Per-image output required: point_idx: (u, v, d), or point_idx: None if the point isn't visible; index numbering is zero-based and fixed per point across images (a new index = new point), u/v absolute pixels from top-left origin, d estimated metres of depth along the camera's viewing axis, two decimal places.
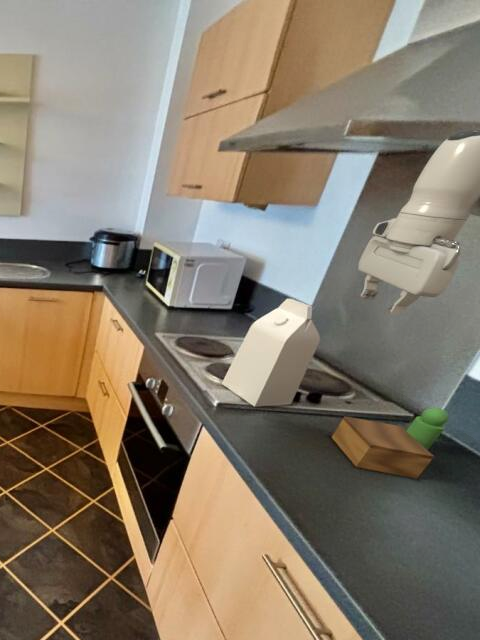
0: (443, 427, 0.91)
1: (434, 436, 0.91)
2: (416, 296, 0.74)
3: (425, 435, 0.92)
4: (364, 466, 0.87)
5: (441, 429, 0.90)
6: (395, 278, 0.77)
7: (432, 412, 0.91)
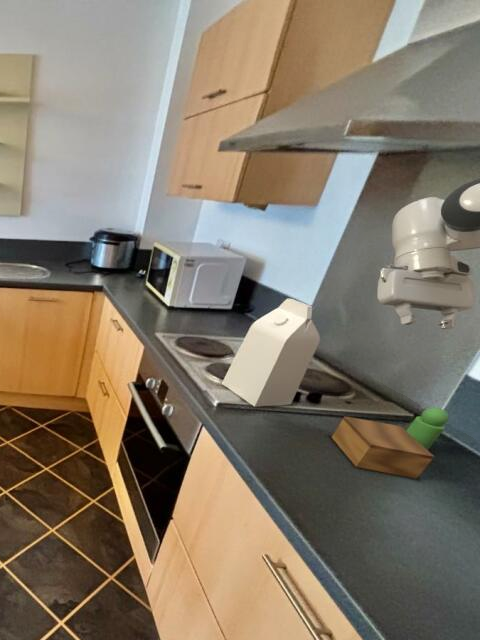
0: (443, 427, 0.91)
1: (434, 436, 0.91)
2: (402, 305, 0.93)
3: (425, 435, 0.92)
4: (364, 466, 0.87)
5: (441, 429, 0.90)
6: None
7: (432, 412, 0.91)
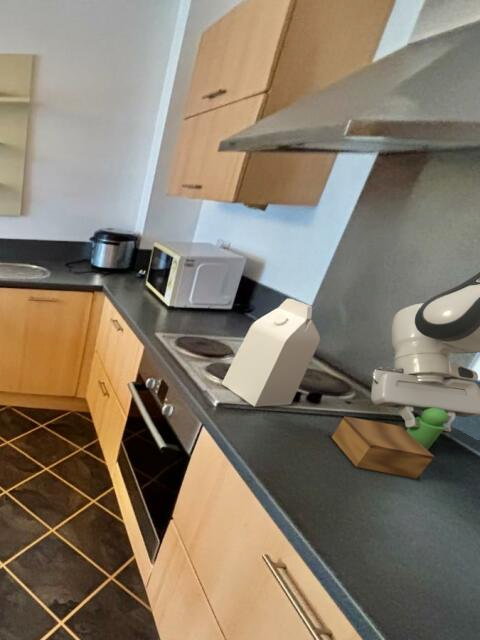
0: (443, 427, 0.91)
1: (434, 436, 0.91)
2: (405, 409, 0.94)
3: (425, 435, 0.92)
4: (364, 466, 0.87)
5: (441, 429, 0.90)
6: None
7: (432, 412, 0.91)
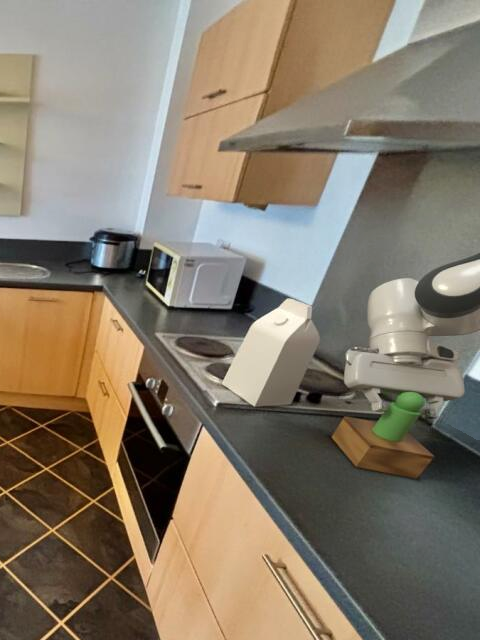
0: (419, 412, 0.83)
1: (409, 422, 0.84)
2: (371, 390, 0.86)
3: (399, 422, 0.85)
4: (364, 466, 0.87)
5: (417, 415, 0.83)
6: None
7: (407, 396, 0.83)
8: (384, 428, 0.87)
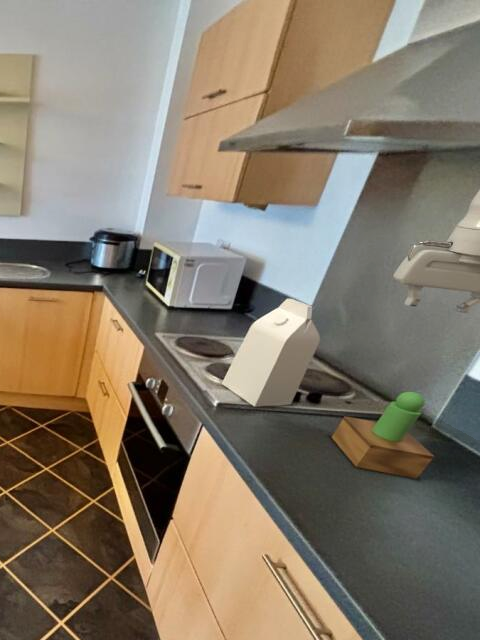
0: (419, 412, 0.83)
1: (409, 422, 0.84)
2: (413, 288, 0.91)
3: (399, 422, 0.85)
4: (364, 466, 0.87)
5: (417, 415, 0.83)
6: None
7: (407, 396, 0.83)
8: (384, 428, 0.87)
